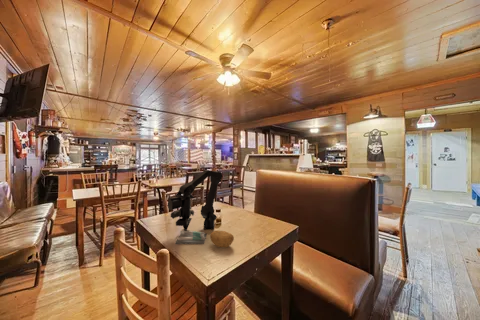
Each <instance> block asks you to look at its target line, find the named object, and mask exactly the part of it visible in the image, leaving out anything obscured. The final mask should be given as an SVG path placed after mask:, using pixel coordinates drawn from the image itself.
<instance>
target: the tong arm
mask: <svg viewBox="0 0 480 320" xmlns="http://www.w3.org/2000/svg"><path fill="white" fill-rule="evenodd" d="M180 234H187V235H192V236H198V237H204V234H206V233H205V231H202V232H201V231H196V230H195V231H194V230H189V229H187V230H186V229H184V228H183V229H181V230H180Z"/></svg>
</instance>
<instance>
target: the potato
mask: <svg viewBox="0 0 480 320" xmlns="http://www.w3.org/2000/svg"><path fill="white" fill-rule="evenodd" d="M209 237H210V242H211V243H212V244H213V245H214V246H215V247H217V248H225V249H226V248H228V247H230V246H232V244H233V242H234V240H235V239H234V238H235V237H234V235H233V233H230V232H228V231H224V230H214V231H212V232H211V233H210V235H209Z"/></svg>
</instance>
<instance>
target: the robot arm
mask: <svg viewBox="0 0 480 320" xmlns="http://www.w3.org/2000/svg"><path fill="white" fill-rule="evenodd" d="M208 177H209V179H210V186H209V190H208V193H207V198H206V201H205V204H204V205H202V206H201V209H200V211H199V212H200V215H201V217H202V219H204V221H203V230H212V231H213V230H215V221H217V215H216V214H215V212H214V211H215V209H214V201H215V199H216V194H217V189H218V186H219V184H220V183H221V181H222V179H223V173H222V172H221V171H218V170H210V169H209V170H208V169H204V170H203V171H202V172H201V173H199V174H198V175H197V176H196V177H194V178H193V179H192V180H190V181H189V182H186V183H184V184H182V185H181V186H179V190H178V191H177V193H176V195H175V196H174V197H169V198H168V199H169V200H168V201H167V207H168V210H170V211H172V210H174V211H172V212H171V213H170V218H172V219H173V220H174V219H176V218H178V219H177V220H176V221H175V226H176V227H183V229H186V230H188V228H189V226H190V224H191V221H192V219H193V218H191V216H193V217H194V215H195V211H194V210H193V209H192V205H191V204H192V203H191V202H192V201H191V200H192V199H194V198H195V196H194V195H193V193H194V192H195V191H196V190H195V189H196V188H197V187H198V186H199V185H200V184H202V183H203V182H204V181H205V180H206V179H207V178H208Z"/></svg>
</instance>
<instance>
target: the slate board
mask: <svg viewBox="0 0 480 320" xmlns="http://www.w3.org/2000/svg"><path fill="white" fill-rule="evenodd" d="M207 236H208V233H204V237H198V236H192V235H187V234H180V235H179V236H177V238H176V241H175V242H174V243H175V245H204V244H205V243H206V240H207Z"/></svg>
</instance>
